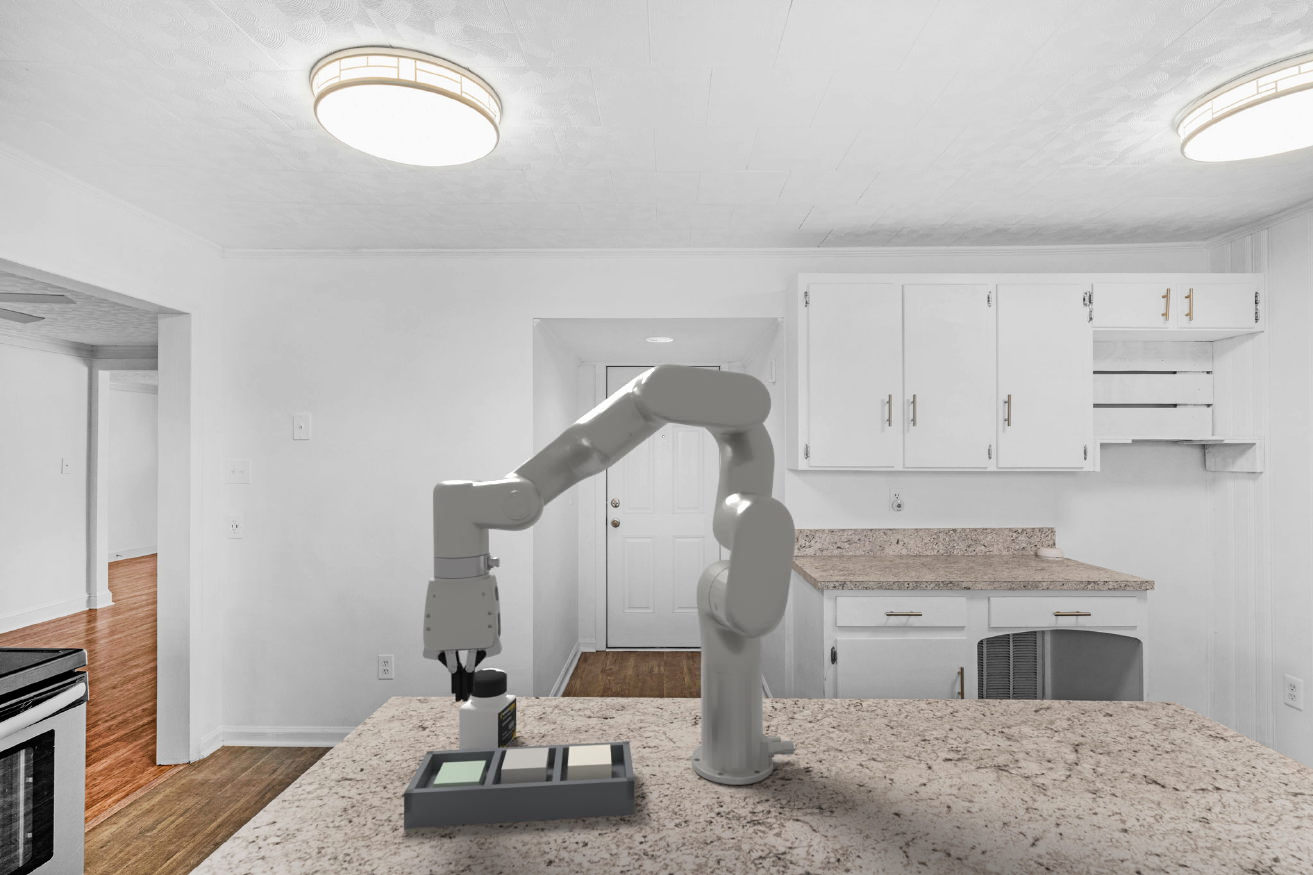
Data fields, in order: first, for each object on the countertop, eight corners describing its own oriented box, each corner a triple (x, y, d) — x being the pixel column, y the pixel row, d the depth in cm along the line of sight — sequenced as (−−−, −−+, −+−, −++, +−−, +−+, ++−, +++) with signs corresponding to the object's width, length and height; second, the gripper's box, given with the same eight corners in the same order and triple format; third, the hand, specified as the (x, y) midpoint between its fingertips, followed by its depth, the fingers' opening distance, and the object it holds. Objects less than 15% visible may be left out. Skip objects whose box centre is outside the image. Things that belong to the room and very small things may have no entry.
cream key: (610, 758, 95) (610, 744, 95) (611, 778, 89) (611, 763, 89) (569, 760, 95) (569, 746, 95) (567, 780, 89) (567, 765, 89)
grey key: (548, 761, 94) (548, 747, 95) (545, 781, 88) (545, 767, 89) (507, 763, 94) (507, 749, 94) (501, 784, 88) (501, 769, 88)
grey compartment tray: (629, 771, 99) (629, 741, 99) (634, 814, 87) (634, 780, 87) (427, 781, 96) (427, 751, 96) (403, 828, 84) (404, 793, 84)
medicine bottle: (498, 755, 104) (499, 680, 104) (458, 751, 105) (458, 677, 106) (517, 736, 111) (517, 666, 111) (478, 733, 112) (478, 663, 113)
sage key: (486, 774, 94) (486, 760, 94) (478, 796, 88) (478, 781, 88) (443, 776, 93) (443, 762, 93) (433, 798, 87) (433, 783, 87)
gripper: (518, 560, 96) (520, 685, 95) (414, 564, 94) (415, 691, 94) (512, 570, 88) (514, 705, 88) (399, 574, 87) (400, 711, 86)
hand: (463, 697), depth 91 cm, fingers closed
